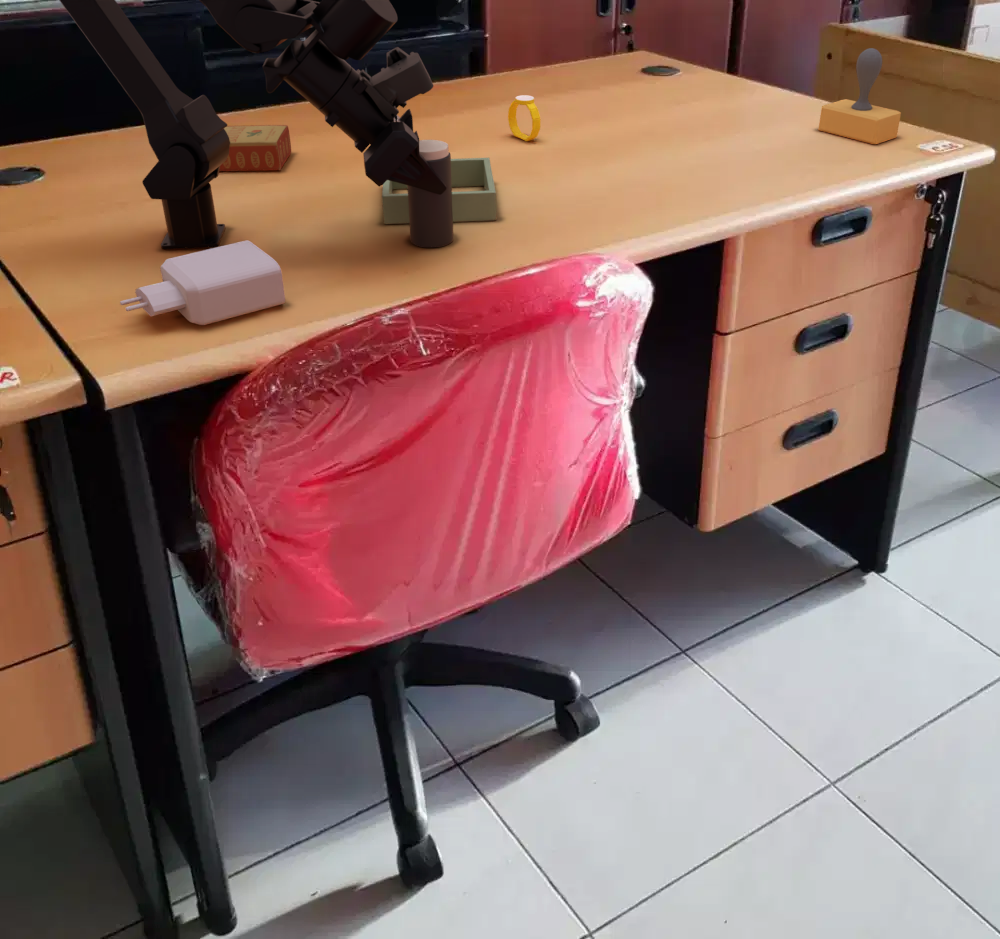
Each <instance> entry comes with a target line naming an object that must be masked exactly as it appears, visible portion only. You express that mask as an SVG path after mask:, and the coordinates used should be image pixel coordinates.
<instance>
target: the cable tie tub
mask: <svg viewBox="0 0 1000 939" xmlns="http://www.w3.org/2000/svg"><path fill="white" fill-rule="evenodd" d="M449 150H450V149H449V144H448V143H447V142H445V141H443V140H439V139H419V152H420V153H421V155H422V156H423V157H424V158H425V160H426V161H427V162H428V164H429V165H430V166H431V167H432V169H433V170H434V171H435V172H436V174H437V175H438V176H439V177H440V179H441V180H442V181H443V183H444V184H445V185H446V187H447V189H446V190H445V192H444V193H443V194H442V195H439V194H435V193H432V192H429V191H425V190H422V189H419V188H415V187H412V186H408V185H407V187H408V189H407V193H408V205H409V222H410V223H409V238H410V242H411V244H412V245H414V246H417V247H421V248H428V249H429V248H431V249H432V248H433V249H434V248H441V247H445V246H448V245H450V244H451V243H452V242H454V222H453V212H452V192H453V189H452V188H453V187H452V182H451V159H452V158H451V157H452V155H451V152H450V151H449Z"/></svg>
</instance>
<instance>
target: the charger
mask: <svg viewBox="0 0 1000 939" xmlns="http://www.w3.org/2000/svg"><path fill="white" fill-rule="evenodd" d="M159 268H160V274H161V278H162V279H161V280H162V281H161V282H157V283H153V284H148V285H144V286H140V287H137V288H136V289H135V291H134V293H135V295H136V297H131V298H127V299H123V300H120V301H119V305H120V306H125V311H126V312H131V311H135V310H138V309H143V310H144V311H145V312H146V313H147V314H148V316H150V317H155V316H158V315H163V314H166V313H170V312H175V311H178V312H179V313H180V314H181V315H182V316H183V317H184V318H185V320H187V321H188V322H189V323H192V324H196V325H199V326H207V325H209V324H214V323H217V322H220V321H225V320H229V319H232V318H235V317H239V316H244V315H246V314H247V315H248V314H250V313H255V312H259V311H262V310H266V309H269V308H273V307H277V306H280V305H283V304H285V303H286V293H285V286H284V279H283V272H282V269H281V266H280V265H279V263H278V262H277V261H276V259H275V258H273V257H272V256H271V255H269V254H268V253H267V252H265V251H264V250H263V249H261V248H260V247H258V246H257V245H256V244H254V243H253V242H252V241H250V240H248V239H247V240H242V241H238V242H233V243H229V244H225V245H221V246H220V245H219V246H217V247H211V248H208V249H203V250H199V251H195V252H190V253H187V254H183V255H178V256H174V257H170V258H166V259H165V260H164V262H163V263H162V264H161V265H160V267H159ZM137 302H139V303H137ZM134 303H137V304H134ZM130 304H132V305H130ZM126 305H129V306H126Z"/></svg>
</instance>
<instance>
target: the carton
mask: <svg viewBox="0 0 1000 939" xmlns="http://www.w3.org/2000/svg"><path fill="white" fill-rule="evenodd" d="M224 129H225V131H226V133H227V135H228V137H229V140H230V148H229V155H228V157H227V159H226V161H225V162H224V163H223V164H221V165H220V170H219V172H226V171H227V172H230V171H231V172H235V171H236V172H238V171H244V172H245V171H281V170H282V168H283V166H284V165H285V163H286V161H287V160H288V158H289V157H290V156H291V153H292V141H291V135H290V129H289V126H288V124H255V125H252V124H251V125H227V127H225V128H224Z"/></svg>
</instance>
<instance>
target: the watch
mask: <svg viewBox="0 0 1000 939" xmlns="http://www.w3.org/2000/svg"><path fill="white" fill-rule="evenodd" d="M519 106H525V107H526V108H527V110H528V111H529V113H530V117H531V131H530V134H529V135H527V134H526V133H524V132H522V131H521V129H520V127H519V124H518V120H517V111H518V107H519ZM507 113H508V114H507V121H508V127H509V129H510V131H511V133H512V135H513V137H516V138H518V139H521V140H522V141H525V142H530V141H533V140H535V139H536V138H537V137H538V136H539V133H540V132H541V131H540V130H541V121H542V120H541V119H542V118H541V115H540V111H539V109H538V107H537V106H536V104H535V97H534V96H532V95H527V94H524V95H523V94H521V95H517V96H515V98H514V100H513V101H511V103H510V105H509V107H508V110H507Z"/></svg>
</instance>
